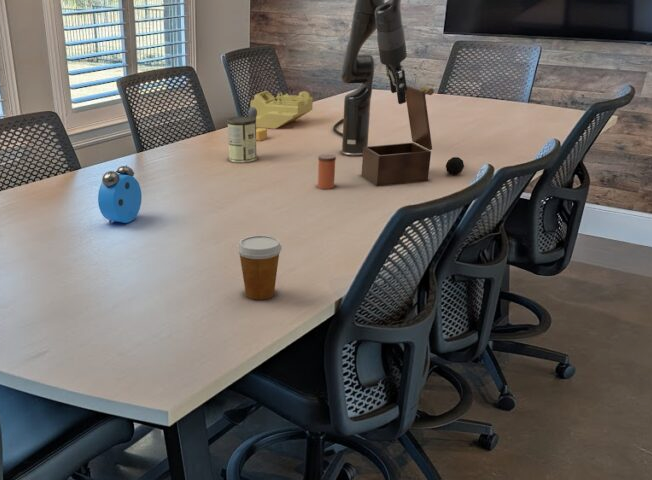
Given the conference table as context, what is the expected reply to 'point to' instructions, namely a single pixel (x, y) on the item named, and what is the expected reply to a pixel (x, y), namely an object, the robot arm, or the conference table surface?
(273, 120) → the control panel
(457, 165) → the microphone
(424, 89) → the lid
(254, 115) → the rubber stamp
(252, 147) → the coffee can
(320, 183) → the canister
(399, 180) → the chest
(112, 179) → the alarm clock
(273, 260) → the disposable coffee cup
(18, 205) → the conference table surface
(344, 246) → the conference table surface
